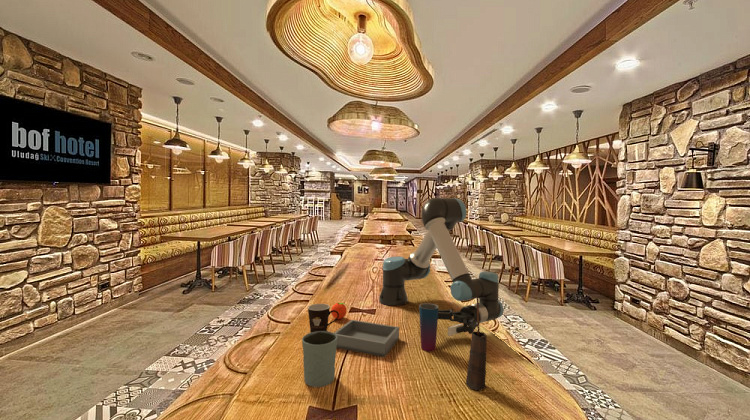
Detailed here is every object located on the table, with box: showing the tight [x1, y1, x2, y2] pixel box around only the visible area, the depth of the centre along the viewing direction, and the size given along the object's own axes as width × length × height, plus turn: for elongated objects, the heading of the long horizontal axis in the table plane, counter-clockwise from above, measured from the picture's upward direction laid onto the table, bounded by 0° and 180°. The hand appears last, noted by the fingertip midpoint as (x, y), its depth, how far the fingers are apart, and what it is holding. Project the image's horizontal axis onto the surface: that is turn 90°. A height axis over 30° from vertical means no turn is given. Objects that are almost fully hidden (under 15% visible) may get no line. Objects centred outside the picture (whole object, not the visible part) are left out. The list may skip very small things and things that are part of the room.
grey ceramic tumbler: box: [301, 330, 337, 388], centre depth 90 cm, size 10×10×12 cm
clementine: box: [330, 302, 349, 320], centre depth 140 cm, size 8×7×7 cm
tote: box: [333, 319, 400, 358], centre depth 115 cm, size 16×20×4 cm
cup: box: [418, 302, 440, 352], centre depth 111 cm, size 7×7×15 cm
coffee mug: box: [307, 303, 339, 333], centre depth 123 cm, size 12×9×10 cm
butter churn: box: [465, 285, 488, 391], centre depth 86 cm, size 9×10×28 cm
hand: (434, 325), depth 111 cm, fingers open, 13 cm apart
